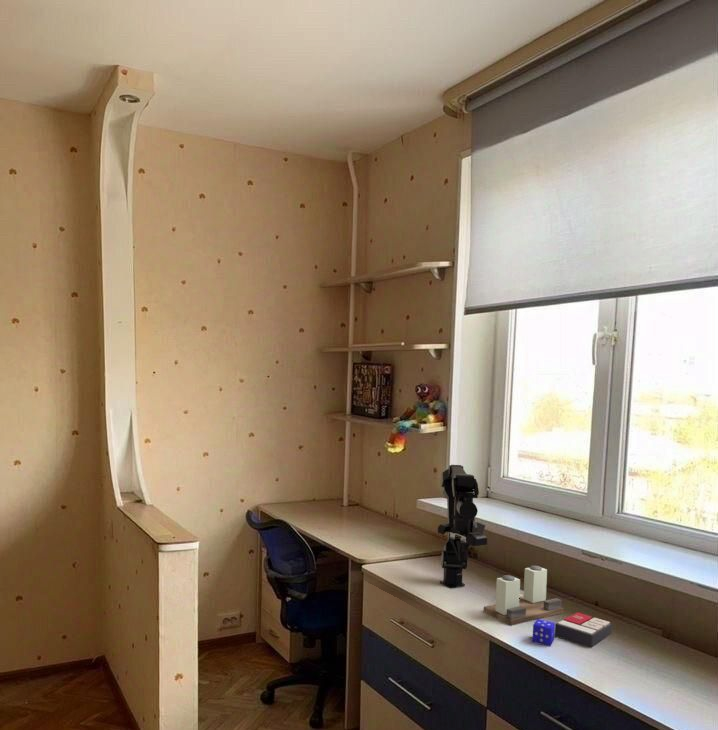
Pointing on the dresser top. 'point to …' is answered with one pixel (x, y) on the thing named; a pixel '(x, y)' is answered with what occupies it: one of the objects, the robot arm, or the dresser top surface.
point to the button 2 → (535, 584)
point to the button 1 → (507, 593)
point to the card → (521, 594)
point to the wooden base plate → (527, 611)
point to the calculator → (583, 629)
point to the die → (543, 632)
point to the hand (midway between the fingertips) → (460, 560)
